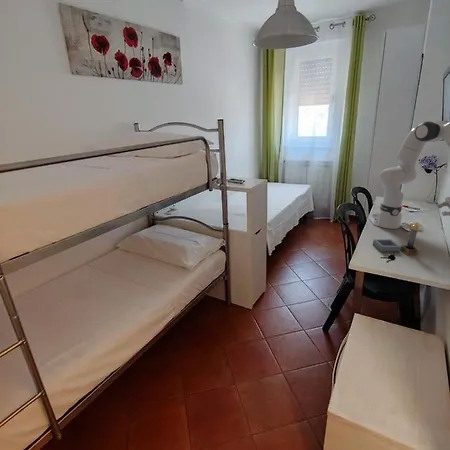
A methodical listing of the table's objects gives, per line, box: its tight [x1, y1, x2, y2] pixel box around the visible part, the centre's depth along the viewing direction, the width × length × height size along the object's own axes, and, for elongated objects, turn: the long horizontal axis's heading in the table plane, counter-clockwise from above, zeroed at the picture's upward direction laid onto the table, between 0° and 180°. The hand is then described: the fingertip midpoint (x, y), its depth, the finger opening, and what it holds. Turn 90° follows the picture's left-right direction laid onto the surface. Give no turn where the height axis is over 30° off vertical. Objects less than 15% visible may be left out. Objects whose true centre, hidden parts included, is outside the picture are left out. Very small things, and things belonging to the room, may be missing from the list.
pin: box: [406, 224, 419, 249], centre depth 163 cm, size 4×4×16 cm
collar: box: [400, 244, 420, 256], centre depth 165 cm, size 6×6×3 cm
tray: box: [372, 238, 401, 254], centre depth 169 cm, size 10×10×4 cm
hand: (439, 210), depth 156 cm, fingers open, 8 cm apart
